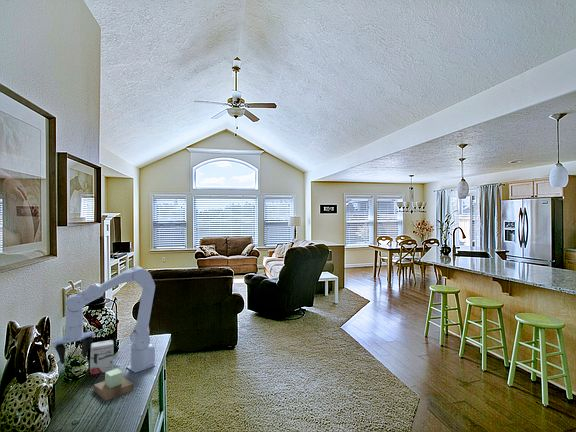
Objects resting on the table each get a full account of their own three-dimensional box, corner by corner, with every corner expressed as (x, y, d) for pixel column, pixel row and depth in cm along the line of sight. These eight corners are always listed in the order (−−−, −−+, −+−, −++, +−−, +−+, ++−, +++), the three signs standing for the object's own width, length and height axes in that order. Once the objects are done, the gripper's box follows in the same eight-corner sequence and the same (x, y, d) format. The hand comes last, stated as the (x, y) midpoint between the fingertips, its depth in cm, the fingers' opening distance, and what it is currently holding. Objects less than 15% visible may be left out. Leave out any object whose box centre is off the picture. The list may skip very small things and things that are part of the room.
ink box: (90, 375, 139) (91, 347, 139) (89, 370, 143) (90, 343, 143) (113, 370, 144) (114, 343, 144) (112, 366, 148) (112, 339, 148)
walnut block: (120, 382, 135) (120, 375, 135) (132, 391, 129) (133, 383, 129) (93, 392, 127) (94, 384, 127) (105, 402, 121) (105, 393, 121)
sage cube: (116, 379, 131) (117, 368, 131) (122, 383, 129) (122, 372, 128) (104, 384, 128) (105, 372, 128) (110, 388, 125) (110, 376, 125)
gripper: (56, 332, 124) (55, 369, 124) (98, 323, 135) (97, 356, 135) (49, 328, 128) (49, 363, 129) (90, 319, 140) (90, 352, 140)
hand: (73, 359), depth 132 cm, fingers open, 7 cm apart
